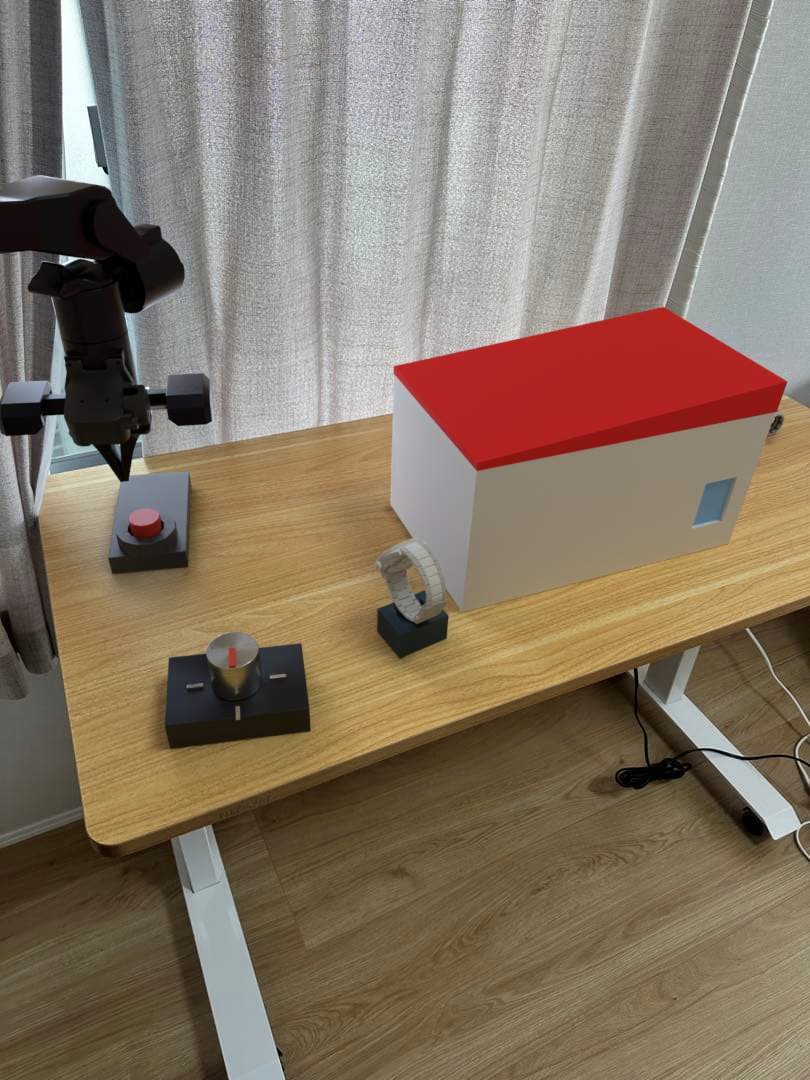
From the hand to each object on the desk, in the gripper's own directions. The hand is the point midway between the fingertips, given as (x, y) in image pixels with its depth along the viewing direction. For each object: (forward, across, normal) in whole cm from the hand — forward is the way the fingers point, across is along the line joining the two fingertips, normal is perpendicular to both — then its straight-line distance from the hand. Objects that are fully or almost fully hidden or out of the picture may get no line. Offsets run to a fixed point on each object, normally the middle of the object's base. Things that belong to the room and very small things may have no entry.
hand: (125, 479), depth 81 cm
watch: (+12, +27, -15) cm, 33 cm away
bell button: (+8, +1, +2) cm, 8 cm away
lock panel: (+11, +10, -21) cm, 26 cm away
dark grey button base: (+11, +1, +7) cm, 13 cm away
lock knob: (+8, +10, -21) cm, 25 cm away
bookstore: (+11, +48, +1) cm, 49 cm away
